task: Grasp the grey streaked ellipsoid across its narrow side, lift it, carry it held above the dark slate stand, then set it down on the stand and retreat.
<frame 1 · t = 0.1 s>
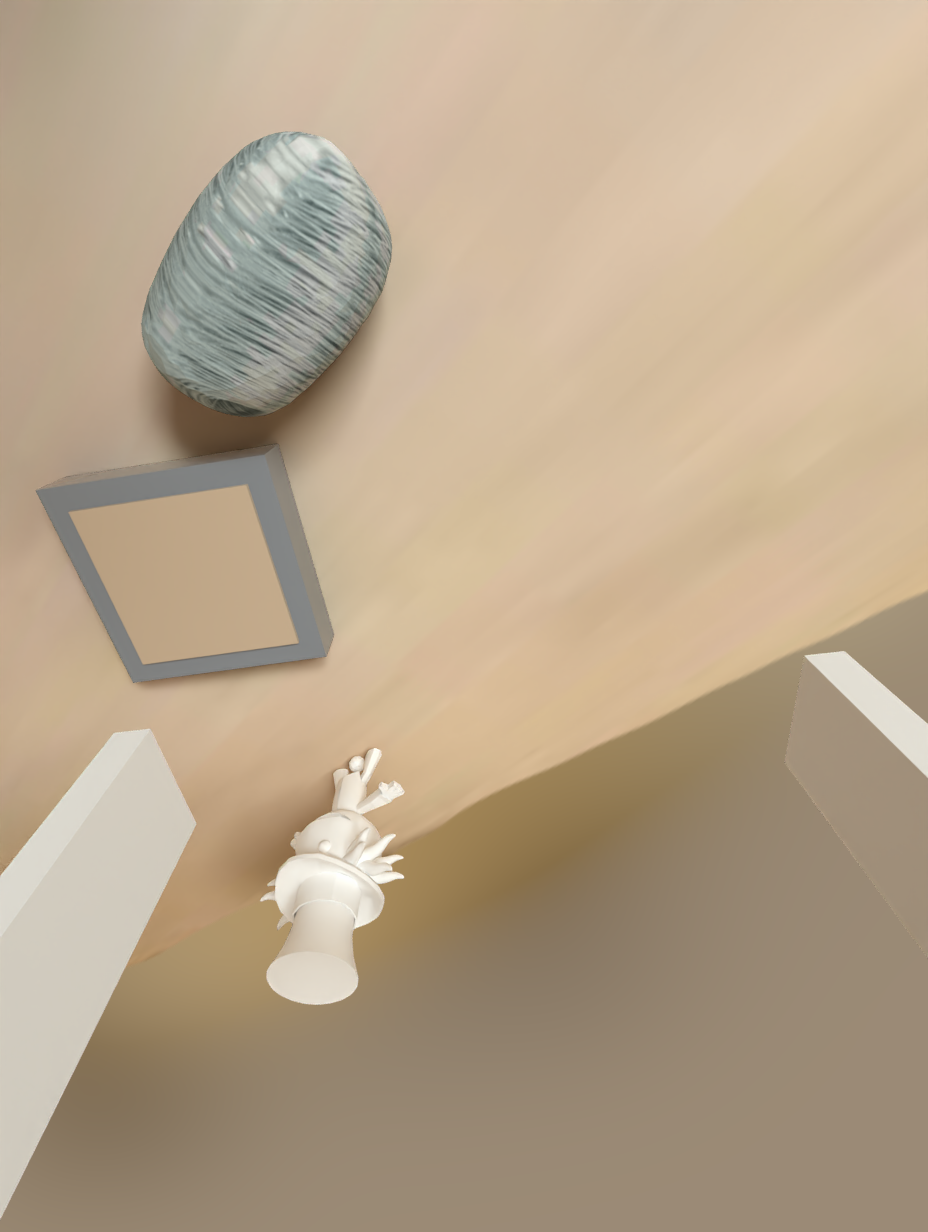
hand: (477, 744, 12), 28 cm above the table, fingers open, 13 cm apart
stand: (209, 561, 40), on the table
grey streaked ellipsoid: (289, 290, 32), on the table
figurine: (358, 757, 48), on the table
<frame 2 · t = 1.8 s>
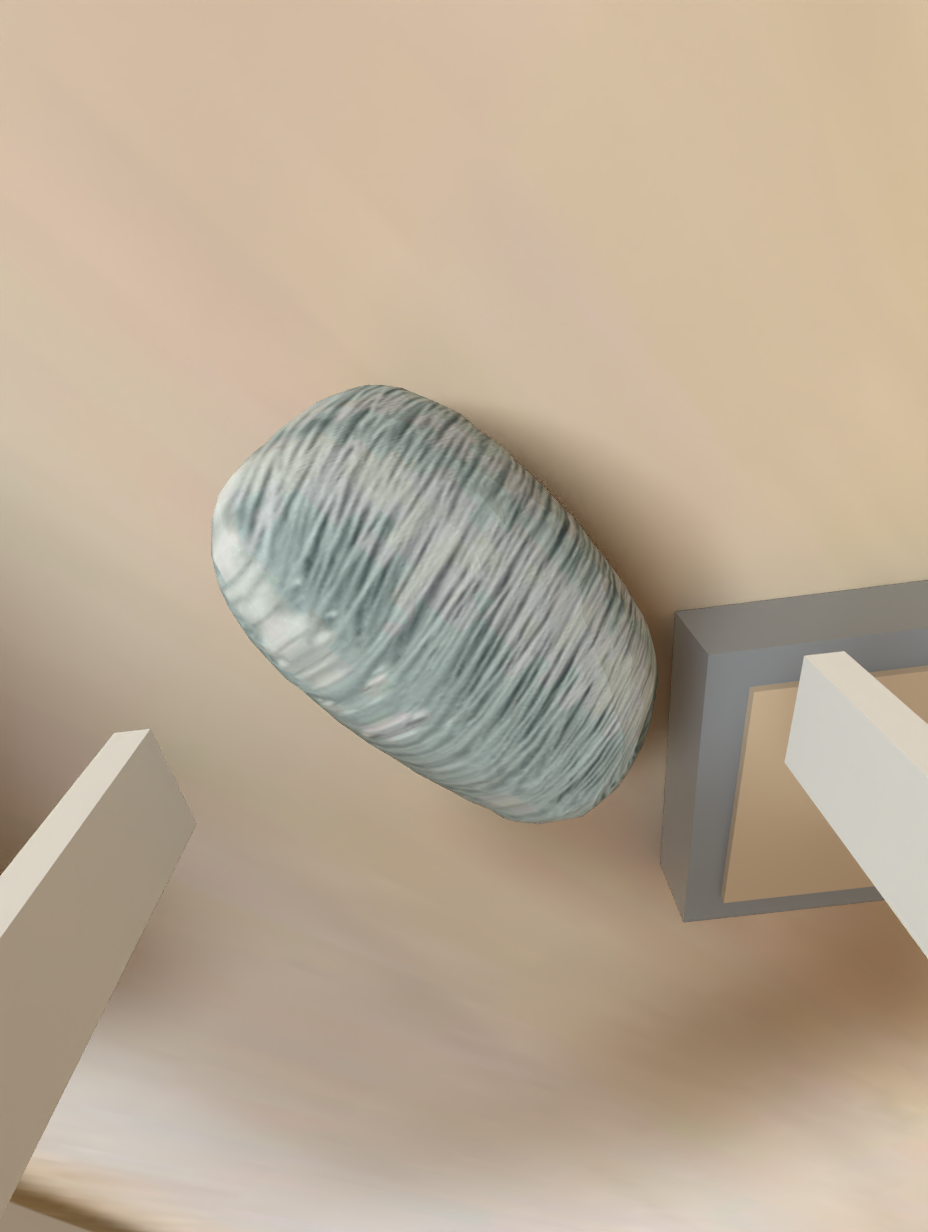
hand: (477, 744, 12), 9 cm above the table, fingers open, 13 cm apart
stand: (831, 735, 24), on the table
grey streaked ellipsoid: (449, 561, 20), on the table
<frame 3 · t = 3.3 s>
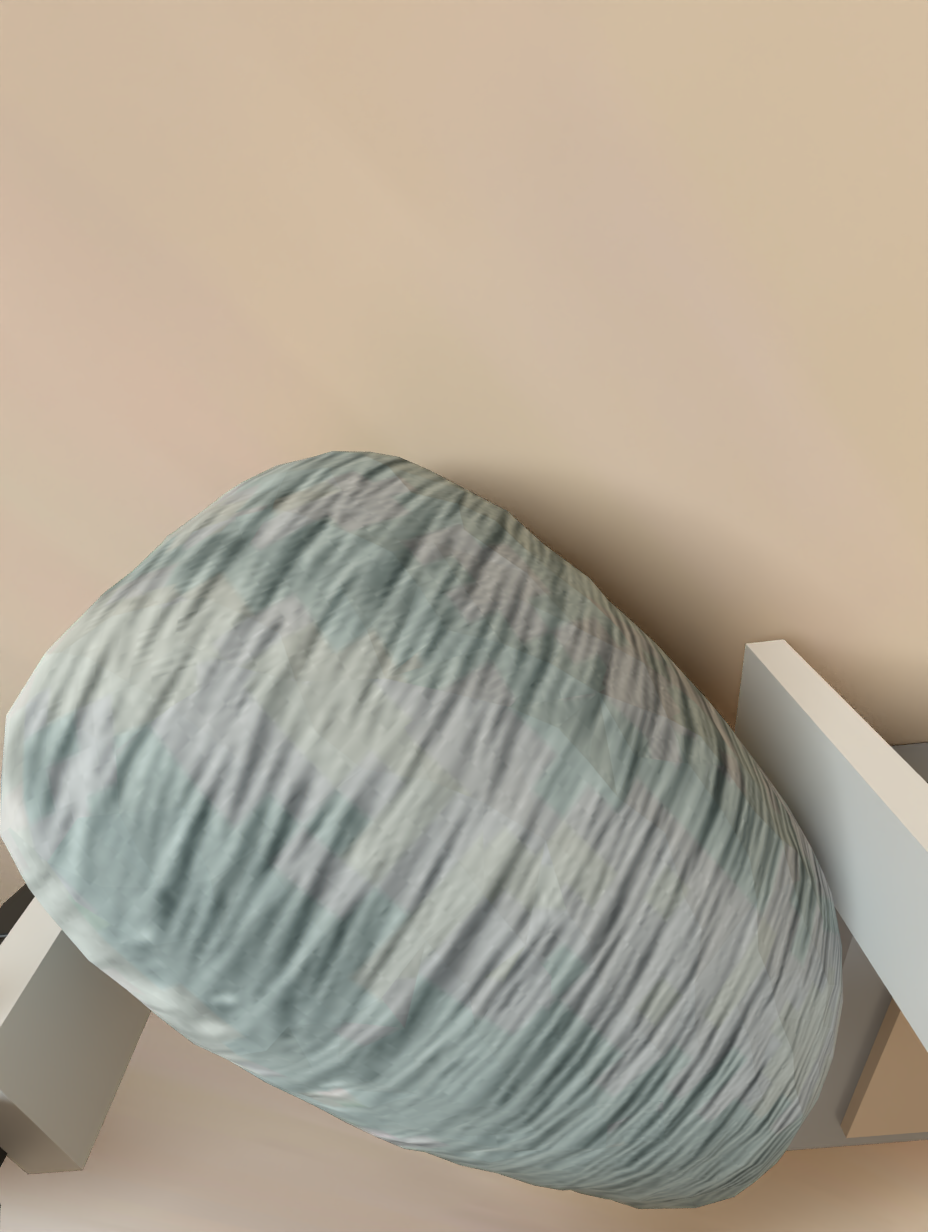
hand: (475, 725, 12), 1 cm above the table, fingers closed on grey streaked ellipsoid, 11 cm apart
grey streaked ellipsoid: (471, 689, 14), on the table, touching gripper
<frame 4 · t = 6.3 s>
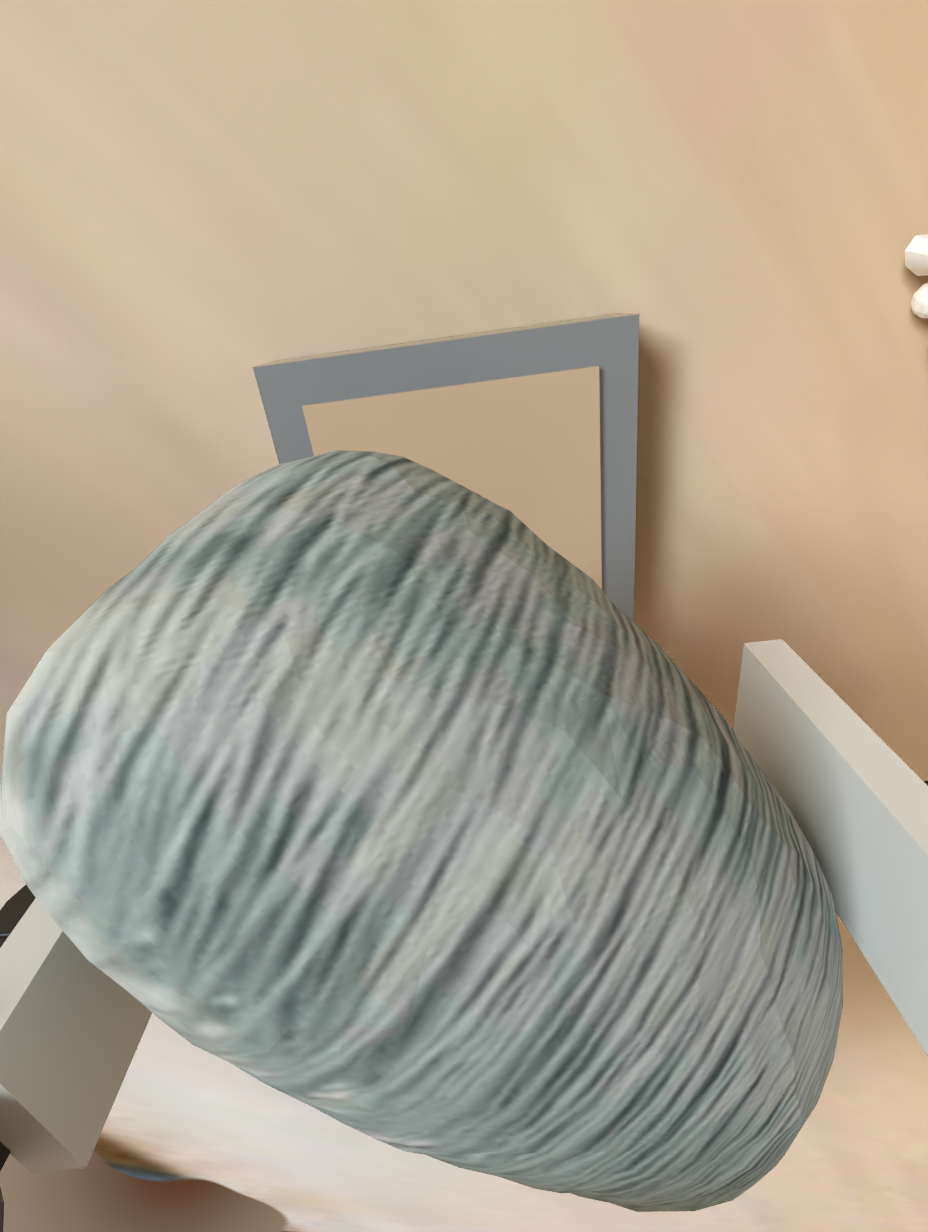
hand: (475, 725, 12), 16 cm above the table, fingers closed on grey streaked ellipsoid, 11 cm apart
stand: (465, 504, 27), on the table
grey streaked ellipsoid: (471, 689, 14), point 15 cm above the table, touching gripper
figurine: (916, 299, 23), on the table
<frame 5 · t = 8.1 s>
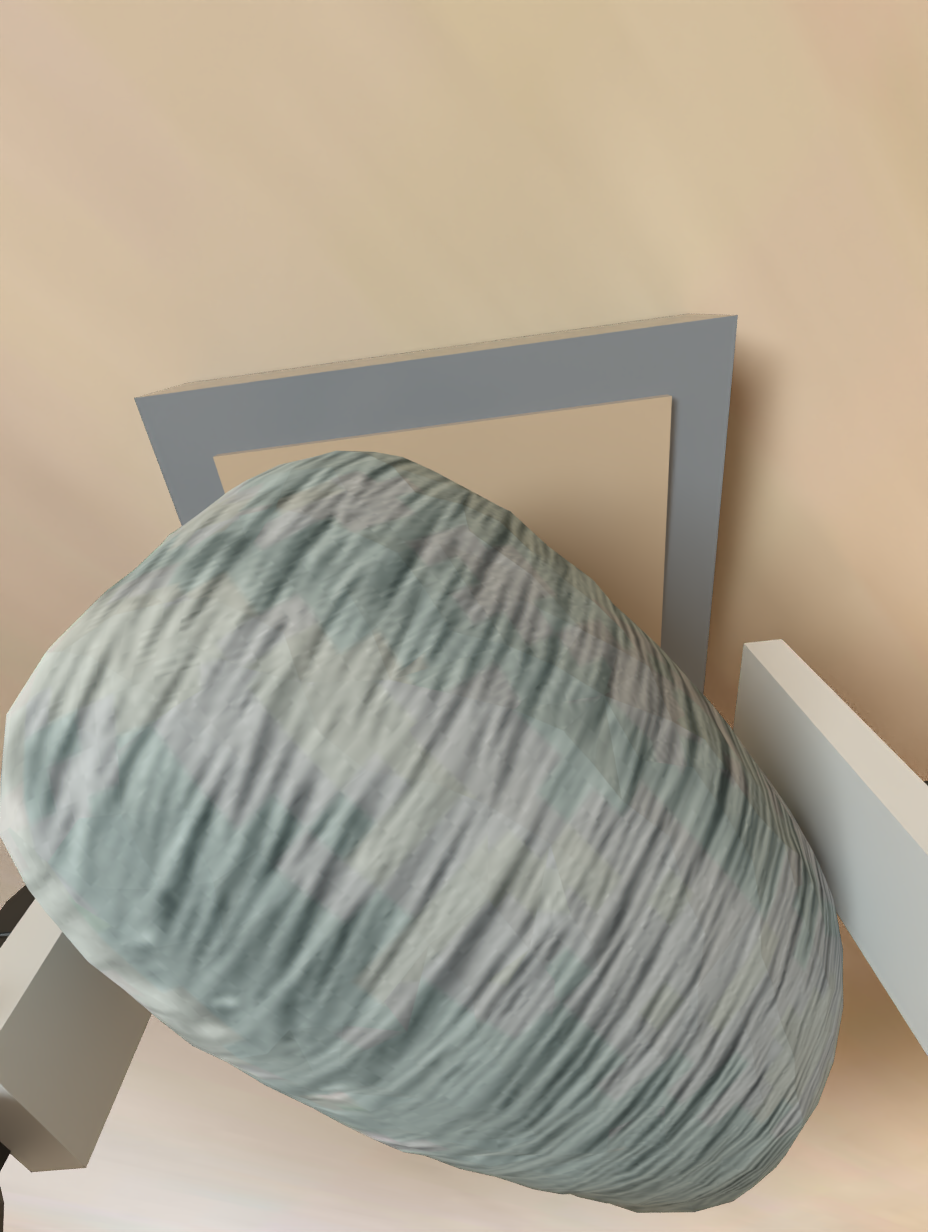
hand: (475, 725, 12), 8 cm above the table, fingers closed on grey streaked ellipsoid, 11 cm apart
stand: (464, 578, 19), on the table
grey streaked ellipsoid: (471, 690, 14), point 6 cm above the table, touching gripper
when the fingers open (5 cm above the table, at t = 9.7 s): grey streaked ellipsoid stays where it is, resting on stand.
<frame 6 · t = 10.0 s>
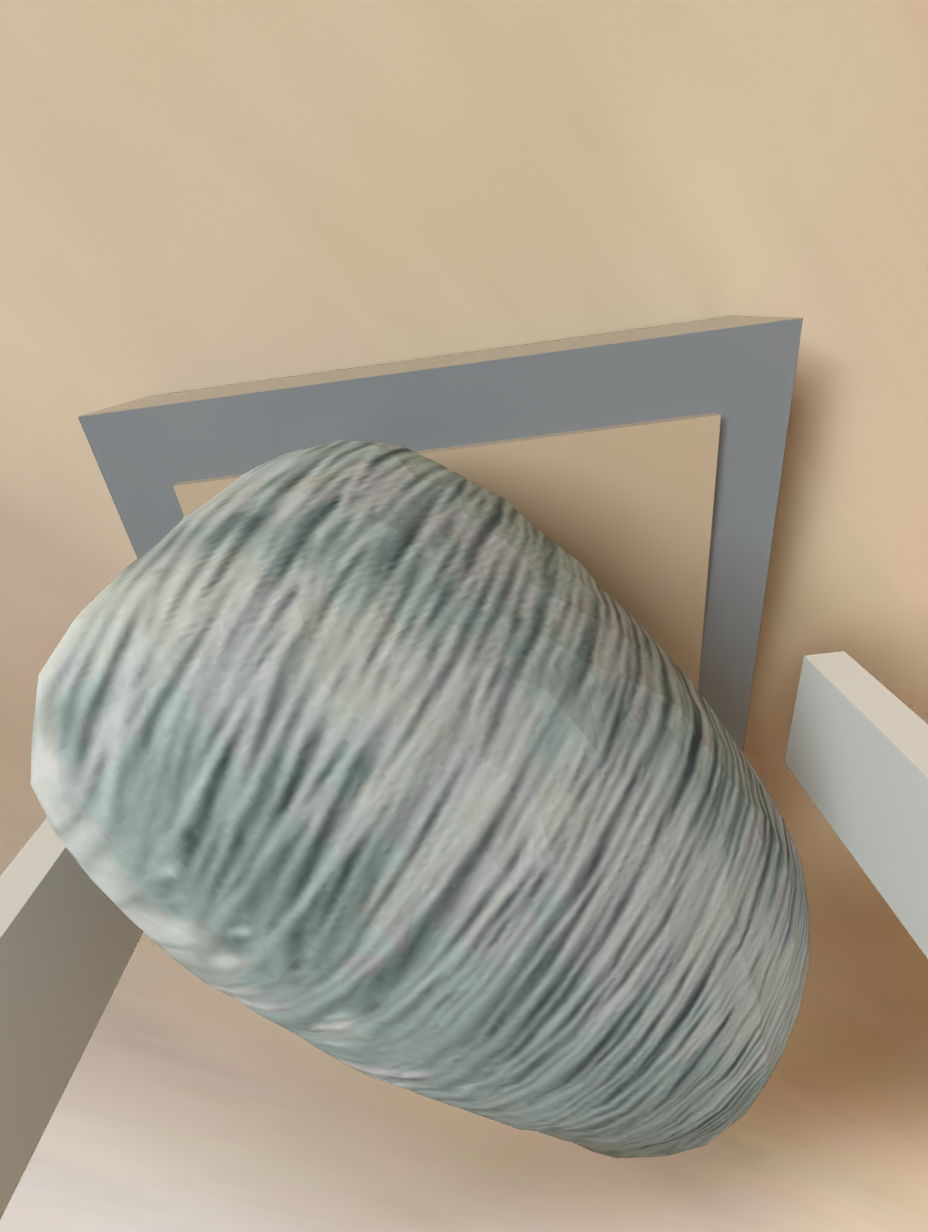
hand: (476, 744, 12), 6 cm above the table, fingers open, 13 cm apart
stand: (469, 615, 17), on the table
grey streaked ellipsoid: (466, 674, 14), point 3 cm above the table, touching stand
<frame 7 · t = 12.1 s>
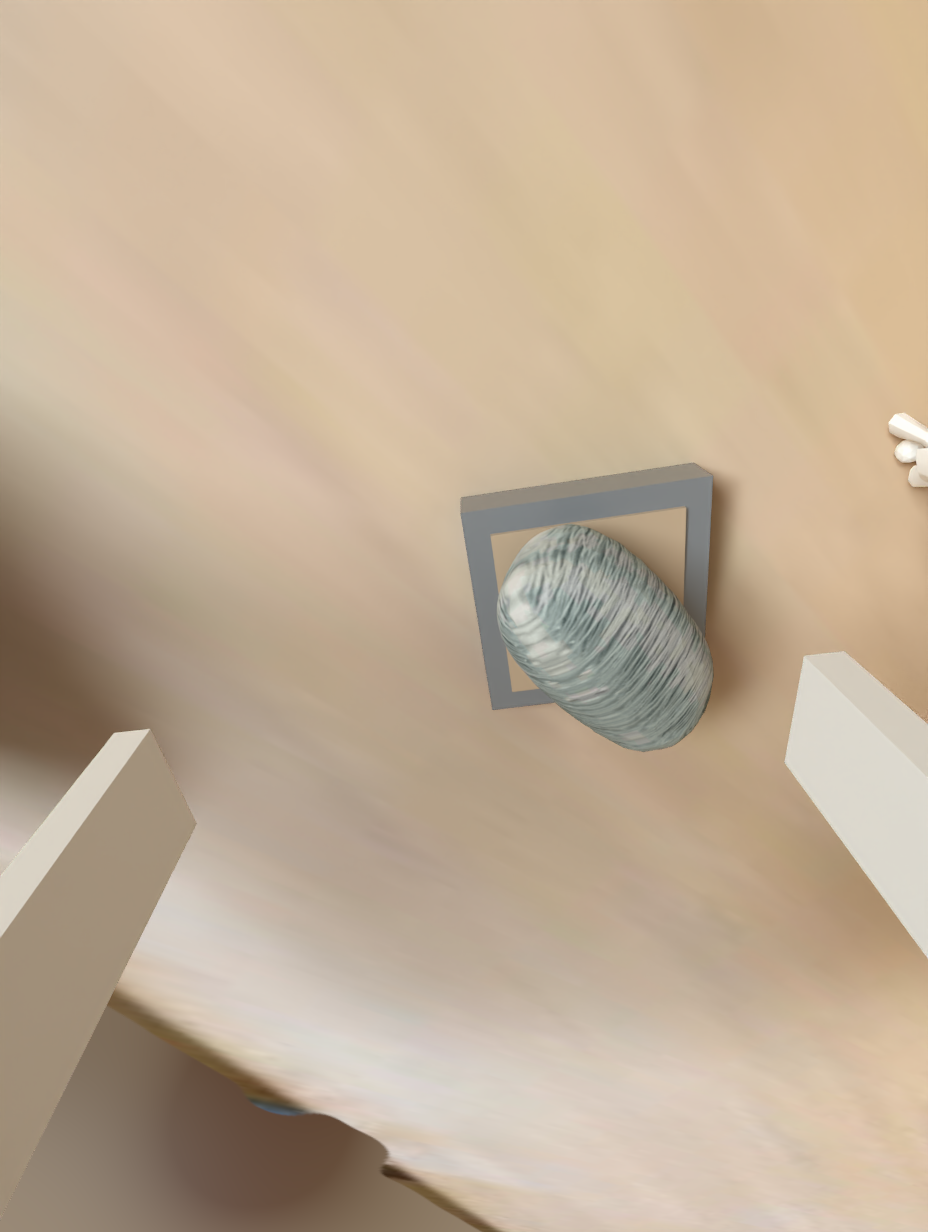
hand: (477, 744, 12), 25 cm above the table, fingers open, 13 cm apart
stand: (582, 584, 38), on the table
grey streaked ellipsoid: (588, 606, 35), point 3 cm above the table, touching stand
figurine: (898, 447, 34), on the table
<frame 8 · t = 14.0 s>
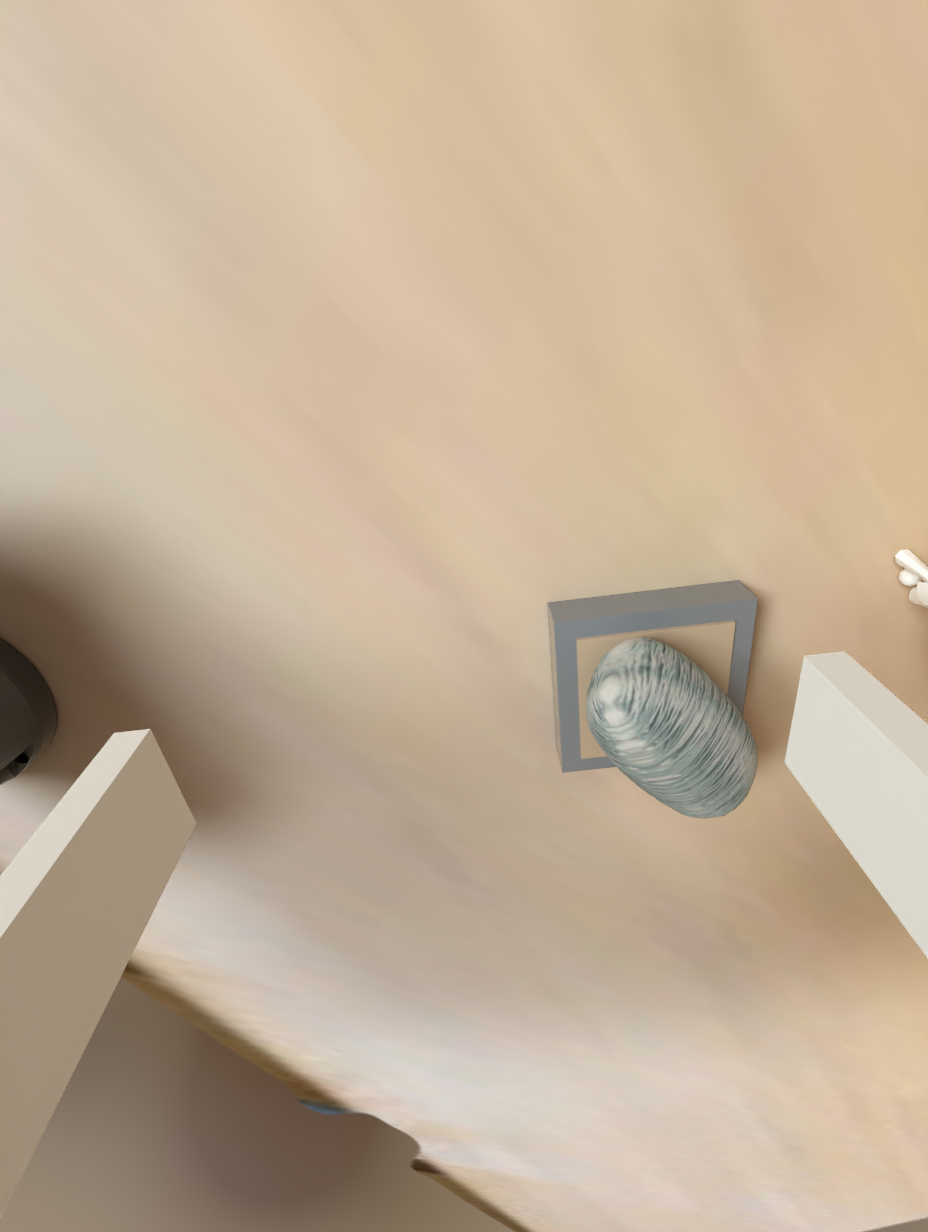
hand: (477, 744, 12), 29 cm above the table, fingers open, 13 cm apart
stand: (640, 670, 46), on the table
grey streaked ellipsoid: (650, 693, 43), point 3 cm above the table, touching stand
figurine: (901, 571, 42), on the table
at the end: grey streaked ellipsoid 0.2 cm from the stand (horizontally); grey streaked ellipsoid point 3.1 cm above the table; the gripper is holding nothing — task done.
